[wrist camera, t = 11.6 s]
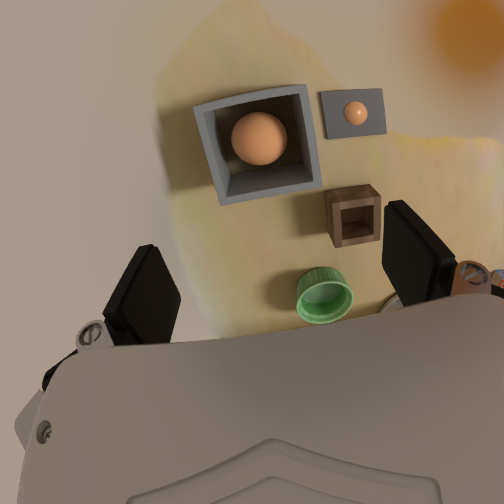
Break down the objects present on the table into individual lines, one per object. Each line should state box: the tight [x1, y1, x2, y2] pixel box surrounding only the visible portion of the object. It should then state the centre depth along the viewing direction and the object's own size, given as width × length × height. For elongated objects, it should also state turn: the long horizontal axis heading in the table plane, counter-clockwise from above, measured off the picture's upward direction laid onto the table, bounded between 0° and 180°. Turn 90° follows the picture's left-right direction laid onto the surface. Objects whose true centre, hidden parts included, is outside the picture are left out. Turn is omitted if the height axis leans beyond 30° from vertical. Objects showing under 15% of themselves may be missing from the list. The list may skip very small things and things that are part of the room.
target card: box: [320, 88, 387, 140], centre depth 29 cm, size 8×6×1 cm
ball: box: [231, 112, 287, 165], centre depth 28 cm, size 6×6×6 cm
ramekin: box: [296, 267, 354, 324], centre depth 42 cm, size 9×9×4 cm
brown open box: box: [324, 184, 381, 248], centre depth 34 cm, size 6×6×4 cm
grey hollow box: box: [193, 84, 322, 206], centre depth 28 cm, size 11×11×7 cm
